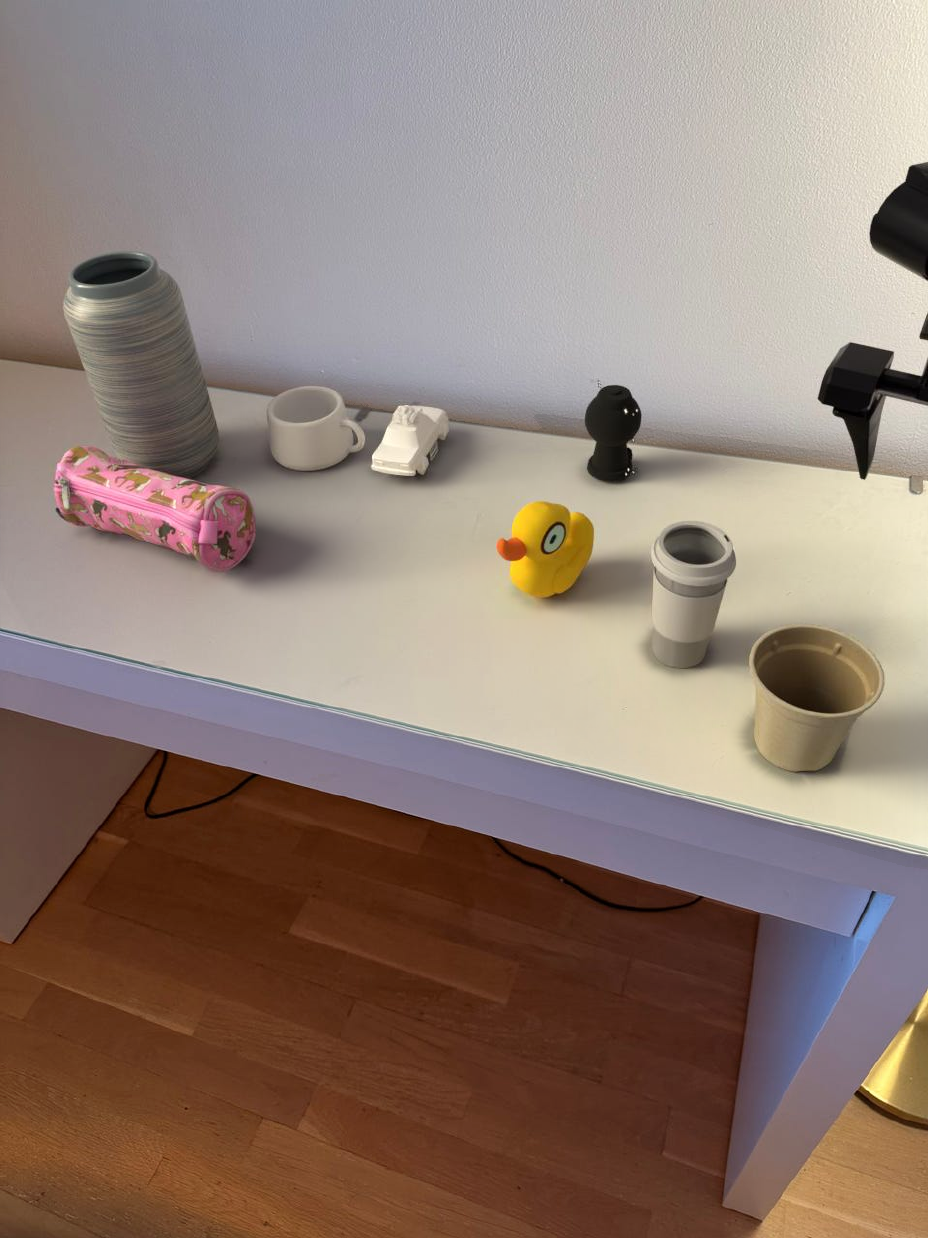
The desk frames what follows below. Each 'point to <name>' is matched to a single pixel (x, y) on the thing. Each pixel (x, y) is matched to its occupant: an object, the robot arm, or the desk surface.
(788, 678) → the flower pot
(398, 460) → the toy car
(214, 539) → the pencil case
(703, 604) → the cup
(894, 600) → the desk surface
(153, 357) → the vase
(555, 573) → the duckling
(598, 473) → the gumball machine
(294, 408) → the mug
